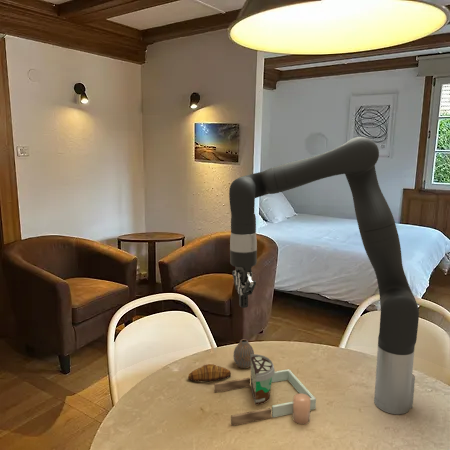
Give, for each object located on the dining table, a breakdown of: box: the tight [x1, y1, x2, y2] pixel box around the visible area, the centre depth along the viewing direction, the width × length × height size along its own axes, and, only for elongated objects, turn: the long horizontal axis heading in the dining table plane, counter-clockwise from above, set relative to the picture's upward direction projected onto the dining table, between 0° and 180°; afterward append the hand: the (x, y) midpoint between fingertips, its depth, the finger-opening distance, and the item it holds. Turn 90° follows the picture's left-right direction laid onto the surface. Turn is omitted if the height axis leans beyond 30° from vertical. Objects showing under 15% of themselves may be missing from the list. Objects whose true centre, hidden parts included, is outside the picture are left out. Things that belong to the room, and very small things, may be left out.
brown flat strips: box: [213, 377, 272, 427], centre depth 117 cm, size 11×17×2 cm, turn 17°
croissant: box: [187, 363, 232, 383], centre depth 130 cm, size 14×7×5 cm, turn 99°
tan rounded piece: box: [292, 393, 311, 425], centre depth 110 cm, size 4×4×6 cm
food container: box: [250, 353, 276, 406], centre depth 121 cm, size 12×6×10 cm, turn 4°
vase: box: [232, 338, 255, 369], centre depth 138 cm, size 7×7×9 cm
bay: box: [271, 369, 317, 418], centre depth 121 cm, size 13×17×3 cm
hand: (243, 306), depth 120 cm, fingers closed
